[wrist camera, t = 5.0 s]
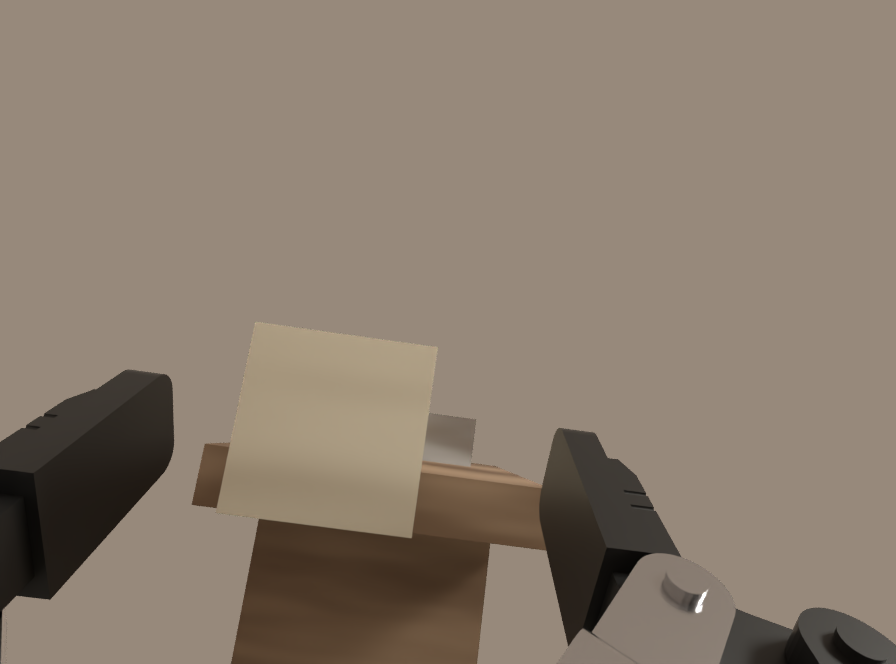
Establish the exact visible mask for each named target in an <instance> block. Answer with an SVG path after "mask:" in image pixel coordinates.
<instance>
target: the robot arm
mask: <svg viewBox="0 0 896 664" xmlns="http://www.w3.org/2000/svg"><path fill="white" fill-rule="evenodd" d="M173 447H174V425H173V391H172V382H171V379H170V378H169V377H168V376H167V375H165V374H158V373H151V372H143V371H136V370H125V371H123V372H122V373H120V374H119V375H117V376H116V377H114V378H113V379H111V380H110V381H108V382H107V383H105V384H104V385H102V386H101V387H99V388H98V389H96V390H95V389H94V390H91V391H89V392H86V393H83V394H80V395H77V396H74V397H72V398H69V399H66V400H64V401H63V402H61V403H60V404H58V405H57V406H55V407H54V408H52V409H51V410H49V411H47V412H46V413H45V414H44V416H43V417H42V416H40V417H38V418H37V419H35V420H34V421H32V422H30V423H29V424H27V425H26V428H21V429H20V430H18V431H16V432H15V433H14V434H12V435H10V436H9V437H7V438H6V439H4V440H3V441H1V442H0V664H6V639H7V636H6V635H7V621H6V615H5V607H6V606H7V605H8V604H9V603H10V601H12V599H13V598H14V597H16V596H24V597H32V598H41V599H49V600H50V599H51V598H52V597H53V596H54V595H55V594H56V593H57V591H58V590H59V589H60V588H61V587H62V586H63V585H64V584H65V582H66V581H67V580H68V579H69V578H70V577H71V576H72V575H73V573H74V572H75V571H76V570H77V569H78V568H79V567H80V566H81V565H82V563H83V562H84V561H85V560H86V559H87V558H88V557H89V556H90V554H91V553H92V552H93V551H94V550H95V549H96V548H97V547H98V545H100V543H101V542H102V541H103V540H104V539H105V538H106V537H107V535H108V534H109V533H110V532H111V531H112V530H113V529H114V528H115V527H116V526H117V524H118V523H119V522H120V521H121V520H122V519H123V518H124V517H125V515H126V514H127V513H128V512H129V511H130V510H131V509H132V508H133V507H134V505H135V504H136V503H137V502H138V501H139V500H140V499H141V498H142V496H143V495H144V494H145V493H146V492H147V491H148V490H149V489H150V487H151V486H152V485H153V484H154V483H155V482H156V481H157V480H158V479H159V478H160V476H161V475H162V474H163V473H164V472H165V470H166V468H167V466H168V464H169V462H170V460H171V457H172V453H173ZM539 517H540V524H541V528H542V533H543V537H544V542H545V546H546V550H547V554H548V558H549V564H550V568H551V572H552V577H553V581H554V585H555V590H556V594H557V599H558V603H559V607H560V612H561V616H562V621H563V625H564V629H565V633H566V638H567V642H568V648H567V650H566V651H565V653H564V654H563V655H562V657H561V658H560V660H559V661H558V663H557V664H896V645H895V644H894V643H893V642H891V641H890V640H889V639H888V638H886V637H885V636H884V635H882V634H881V633H879V632H878V631H876V630H875V629H874V628H872V627H870V626H868V625H867V624H865V623H863V622H861V621H860V620H857V619H856V618H853V617H851V616H849V615H846V614H844V613H841V612H838V611H835V610H830V609H826V608H811V609H806V610H805V611H803V612H802V613H801V614H800V616H799V618H798V620H797V622H796V624H795V626H794V628H793V630H792V629H789V628H786V627H783V626H781V625H778V624H775V623H772V622H769V621H767V620H764V619H761V618H759V617H755V616H753V615H750V614H748V613H745V612H743V611H740V610H738V609H736V608H735V604H734V601H733V598H732V596H731V595H730V593H729V591H728V590H727V589H726V587H725V586H724V585H723V584H722V583H721V582H720V581H719V580H718V579H717V578H716V577H715V576H714V575H712V574H711V573H710V572H709V571H707V570H706V569H704V568H703V567H701V566H699V565H698V564H696V563H694V562H691V561H689V560H687V559H684V558H682V557H681V556H680V554H679V552H678V550H677V548H676V547H675V545H674V543H673V541H672V539H671V538H670V536H669V534H668V532H667V530H666V529H665V527H664V525H663V523H662V522H661V520H660V518H659V516H658V514H657V512H656V511H654V507H653V505H652V503H651V502H650V500H649V498H648V496H646V492H645V491H644V489H643V487H642V485H641V483H640V482H639V480H638V478H637V476H636V475H635V474H634V473H633V472H632V471H630V470H629V469H628V468H627V467H626V466H625V465H624V464H622V463H621V462H620V461H619V460H618V459H609V458H607V456H606V454H605V452H604V450H603V448H602V446H601V444H600V442H599V440H598V438H597V436H596V434H595V433H593V432H585V431H577V430H570V429H563V428H559V429H557V431H556V433H555V435H554V439H553V442H552V447H551V451H550V455H549V459H548V463H547V468H546V472H545V476H544V481H543V485H542V489H541V494H540V503H539Z"/></svg>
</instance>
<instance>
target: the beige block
mask: <svg viewBox="0 0 896 664" xmlns="http://www.w3.org/2000/svg"><path fill="white" fill-rule="evenodd" d="M437 350H438V347H433V346H425V345H418V344H410V343H404V342H397V341H389V340H383V339H375V338H368V337H361V336H353V335H347V334H340V333H332V332H325V331H318V330H311V329H304V328H297V327H288V326H281V325H274V324H267V323H260V322H255V326H254V331H253V336H252V340H251V346H250V350H249V355H248V360H247V365H246V370H245V375H244V379H243V384H242V389H241V394H240V398H239V403H238V408H237V413H236V418H235V423H234V427H233V432H232V437H231V442H230V446H229V451H228V456H227V461H226V466H225V471H224V475H223V480H222V485H221V490H220V495H219V499H218V504H217V509H216V513H219V514H227V515H235V516H242V517H250V518H258V519H266V520H273V521H281V522H289V523H297V524H304V525H312V526H320V527H328V528H336V529H343V530H351V531H359V532H367V533H374V534H382V535H390V536H398V537H406V538H412V532H413V525H414V517H415V510H416V503H417V496H418V488H419V481H420V474H421V467H422V460H423V461H431V462H438V463H446V464H453V465H461V466H468V467H470V466H471V458H472V450H473V441H474V433H475V425H476V419H468V418H460V417H453V416H446V415H438V414H431V413H429V408H430V400H431V394H432V387H433V379H434V372H435V364H436V357H437Z"/></svg>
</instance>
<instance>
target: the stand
mask: <svg viewBox="0 0 896 664" xmlns="http://www.w3.org/2000/svg"><path fill="white" fill-rule="evenodd" d="M229 446H230V443H213V444H212V443H211V444H205V446H204V451H203V455H202V460H201V464H200V469H199V473H198V478H197V483H196V488H195V492H194V497H193V501H192V505H197V506H206V507H213V508H217V504H218V499H219V495H220V490H221V485H222V480H223V475H224V471H225V466H226V461H227V456H228V451H229ZM541 489H542V485H540V484H537V483H535V482H533V481H530V480H528V479H525V478H522V477H520V476H518V475H515V474H513V473H510V472H508V471H505V470H503V469H500V468H498V467H496V466H489V465H482V464H474V463H471V466H470V467H468V466H461V465H453V464H446V463H438V462H431V461H423V460H422V467H421V474H420V481H419V488H418V496H417V503H416V510H415V517H414V525H413V532H412V538H406V537H398V536H390V535H382V534H374V533H367V532H359V531H351V530H343V529H336V528H328V527H320V526H312V525H304V524H297V523H289V522H281V521H273V520H266V519H259V521H258V527H257V532H256V537H255V542H254V548H253V553H252V558H251V564H250V568H249V574H248V579H247V584H246V589H245V595H244V600H243V605H242V611H241V615H240V621H239V626H238V631H237V636H236V642H235V646H234V652H233V657H232V662H231V664H477V658H478V649H479V640H480V630H481V622H482V613H483V604H484V595H485V586H486V576H487V567H488V558H489V549H490V543H492V544H500V545H509V546H516V547H524V548H531V549H539V550H546V546H545V542H544V537H543V533H542V528H541V524H540V517H539V503H540V494H541ZM546 551H547V550H546Z"/></svg>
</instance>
